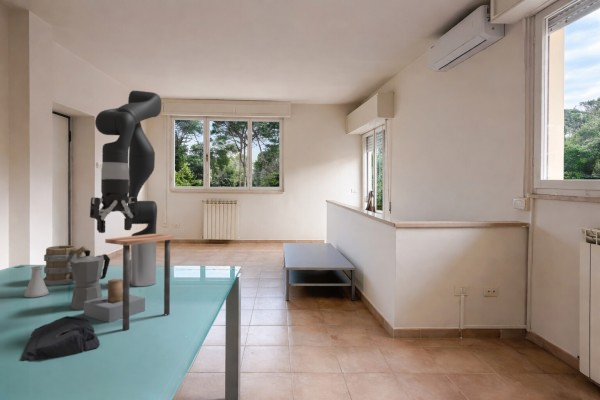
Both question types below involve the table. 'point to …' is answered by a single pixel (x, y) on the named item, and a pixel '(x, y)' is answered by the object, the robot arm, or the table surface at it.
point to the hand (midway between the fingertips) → (115, 231)
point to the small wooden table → (126, 268)
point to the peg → (115, 290)
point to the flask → (36, 284)
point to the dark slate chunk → (61, 339)
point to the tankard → (60, 264)
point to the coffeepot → (87, 278)
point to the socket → (112, 308)
